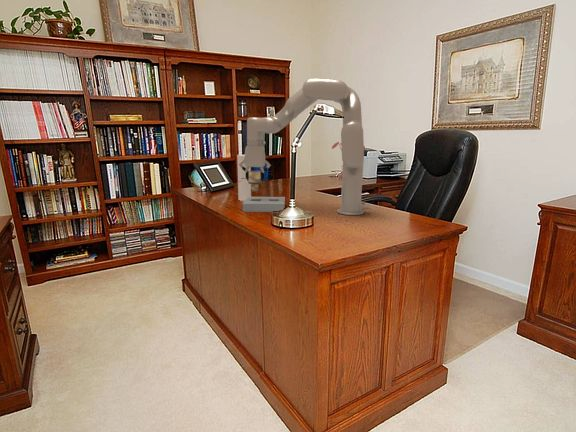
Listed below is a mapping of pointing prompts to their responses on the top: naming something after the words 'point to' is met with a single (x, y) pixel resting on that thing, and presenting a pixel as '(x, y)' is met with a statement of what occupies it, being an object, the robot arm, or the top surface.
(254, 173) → the birch peg
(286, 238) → the top surface
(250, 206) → the mortise board
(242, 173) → the grey square post
